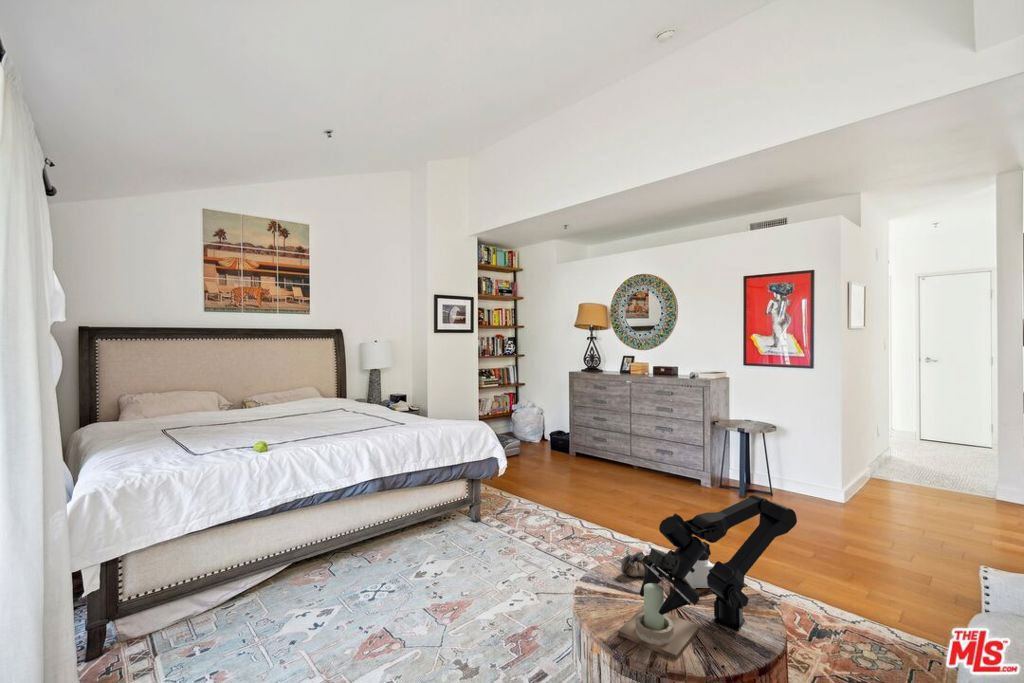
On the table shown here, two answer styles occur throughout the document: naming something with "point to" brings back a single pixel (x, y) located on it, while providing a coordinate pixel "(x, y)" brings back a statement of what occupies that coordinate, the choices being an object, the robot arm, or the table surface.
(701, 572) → the medicine bottle
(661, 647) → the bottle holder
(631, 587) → the table surface
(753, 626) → the table surface
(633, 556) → the dark brown lumpy piece
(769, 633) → the table surface
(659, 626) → the pale green peg
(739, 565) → the robot arm
